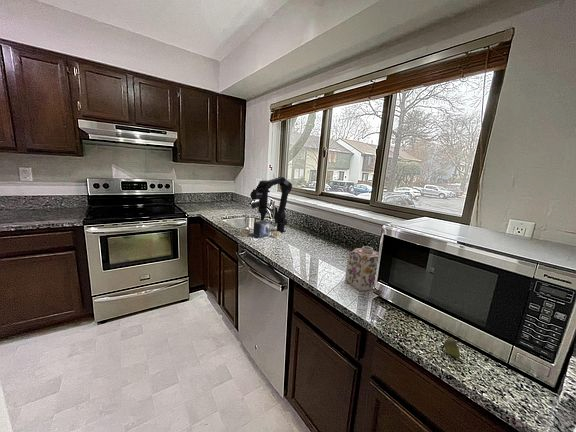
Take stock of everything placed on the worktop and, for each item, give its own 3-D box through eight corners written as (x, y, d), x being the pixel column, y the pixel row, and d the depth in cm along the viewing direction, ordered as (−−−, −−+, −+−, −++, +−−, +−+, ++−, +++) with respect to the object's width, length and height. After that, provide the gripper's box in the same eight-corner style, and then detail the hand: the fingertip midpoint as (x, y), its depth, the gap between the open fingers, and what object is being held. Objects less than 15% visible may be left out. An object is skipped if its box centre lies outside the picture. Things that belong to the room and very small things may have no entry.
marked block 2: (275, 236, 182) (275, 230, 181) (279, 237, 180) (280, 231, 179) (272, 237, 178) (272, 231, 177) (276, 238, 176) (277, 232, 175)
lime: (448, 347, 76) (451, 333, 75) (464, 359, 71) (468, 343, 70) (438, 350, 74) (441, 336, 73) (454, 362, 69) (458, 347, 68)
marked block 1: (245, 234, 179) (245, 229, 178) (249, 235, 177) (250, 230, 176) (241, 235, 176) (242, 229, 175) (246, 236, 174) (246, 231, 173)
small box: (259, 238, 172) (260, 224, 170) (252, 236, 175) (253, 222, 173) (269, 236, 180) (270, 222, 178) (262, 234, 184) (263, 220, 182)
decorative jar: (380, 289, 111) (387, 251, 107) (359, 291, 106) (365, 252, 103) (364, 277, 122) (369, 243, 118) (344, 279, 117) (349, 243, 114)
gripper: (252, 196, 181) (251, 217, 184) (251, 199, 162) (250, 222, 165) (267, 197, 182) (266, 217, 185) (268, 201, 164) (266, 223, 167)
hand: (262, 220), depth 175 cm, fingers closed
